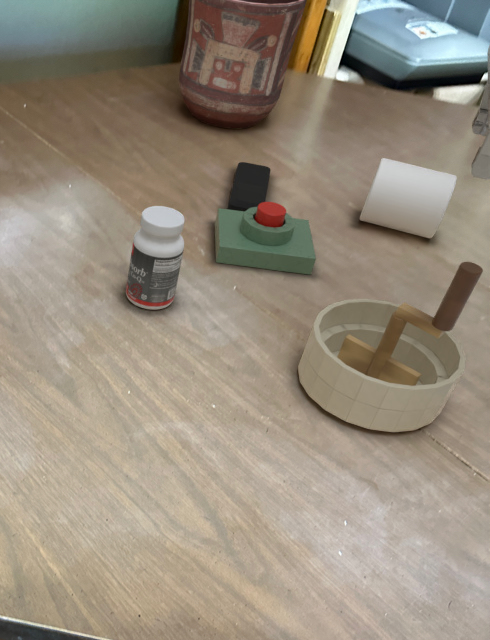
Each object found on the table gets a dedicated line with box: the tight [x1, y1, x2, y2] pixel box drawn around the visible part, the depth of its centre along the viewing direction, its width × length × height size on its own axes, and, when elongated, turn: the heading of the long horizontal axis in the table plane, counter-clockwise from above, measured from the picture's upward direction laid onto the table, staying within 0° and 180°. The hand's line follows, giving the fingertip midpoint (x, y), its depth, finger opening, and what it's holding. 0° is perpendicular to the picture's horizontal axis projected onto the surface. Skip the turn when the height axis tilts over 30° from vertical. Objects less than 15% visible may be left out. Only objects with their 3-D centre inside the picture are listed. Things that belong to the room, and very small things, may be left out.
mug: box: [359, 157, 458, 239], centre depth 105 cm, size 12×10×8 cm
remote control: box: [226, 161, 271, 212], centre depth 109 cm, size 5×2×15 cm
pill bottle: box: [125, 205, 186, 311], centre depth 86 cm, size 6×6×10 cm
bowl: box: [297, 298, 467, 433], centre depth 80 cm, size 15×15×6 cm
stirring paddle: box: [337, 261, 484, 386], centre depth 75 cm, size 9×2×15 cm, turn 45°
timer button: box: [255, 201, 287, 228], centre depth 96 cm, size 4×4×2 cm
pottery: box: [178, 0, 308, 130], centre depth 121 cm, size 18×18×18 cm
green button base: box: [214, 207, 317, 276], centre depth 98 cm, size 12×10×4 cm
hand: (480, 152), depth 66 cm, fingers open, 8 cm apart
